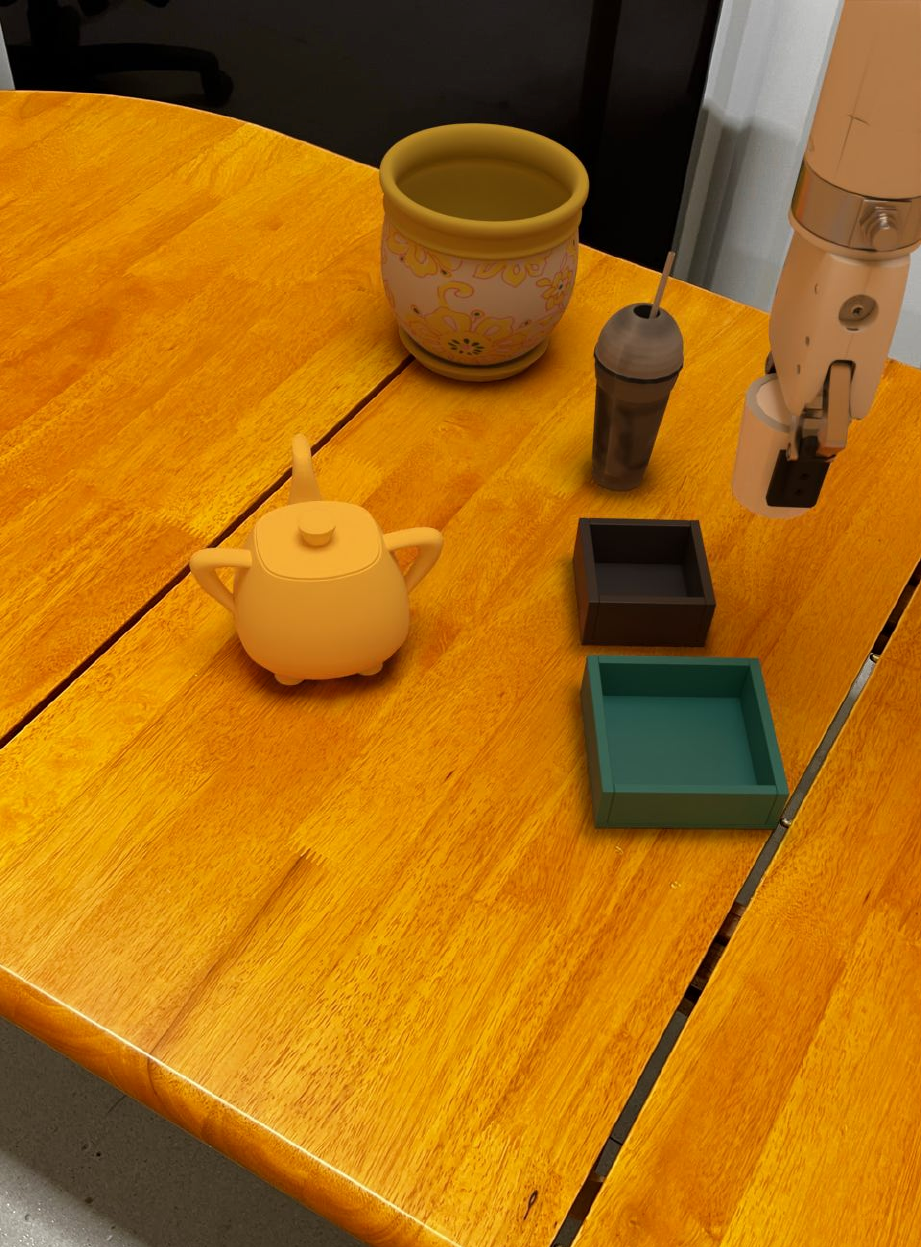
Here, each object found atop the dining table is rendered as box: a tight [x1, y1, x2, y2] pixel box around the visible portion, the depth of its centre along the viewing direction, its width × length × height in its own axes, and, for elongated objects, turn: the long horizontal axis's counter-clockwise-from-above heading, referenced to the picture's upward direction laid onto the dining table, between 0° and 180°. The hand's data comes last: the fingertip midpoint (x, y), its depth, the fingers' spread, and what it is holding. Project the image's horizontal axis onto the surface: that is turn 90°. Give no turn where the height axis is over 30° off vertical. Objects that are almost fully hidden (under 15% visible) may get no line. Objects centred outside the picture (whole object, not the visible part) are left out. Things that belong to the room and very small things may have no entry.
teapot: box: [188, 433, 445, 686], centre depth 92 cm, size 14×14×12 cm
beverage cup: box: [591, 251, 685, 492], centre depth 102 cm, size 7×7×20 cm
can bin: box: [571, 517, 717, 648], centre depth 98 cm, size 10×10×4 cm
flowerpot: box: [378, 122, 590, 383], centre depth 114 cm, size 18×18×16 cm
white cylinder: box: [730, 373, 853, 520], centre depth 82 cm, size 7×7×7 cm
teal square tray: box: [579, 654, 790, 830], centre depth 89 cm, size 13×13×4 cm
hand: (780, 465), depth 83 cm, fingers closed on white cylinder, 6 cm apart
